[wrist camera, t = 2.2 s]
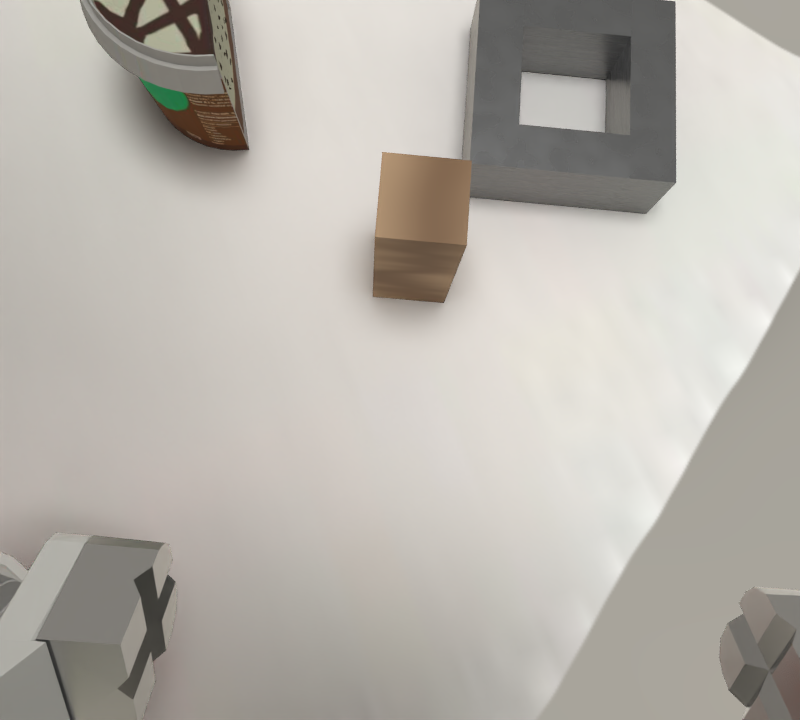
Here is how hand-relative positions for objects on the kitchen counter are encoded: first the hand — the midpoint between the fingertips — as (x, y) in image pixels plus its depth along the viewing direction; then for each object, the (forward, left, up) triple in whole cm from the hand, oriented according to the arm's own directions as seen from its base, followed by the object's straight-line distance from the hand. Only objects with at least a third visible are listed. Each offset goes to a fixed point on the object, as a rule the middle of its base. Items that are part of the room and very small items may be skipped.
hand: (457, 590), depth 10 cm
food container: (-14, +24, -27) cm, 39 cm away
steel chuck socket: (+8, +24, -27) cm, 37 cm away
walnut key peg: (0, +14, -27) cm, 31 cm away
